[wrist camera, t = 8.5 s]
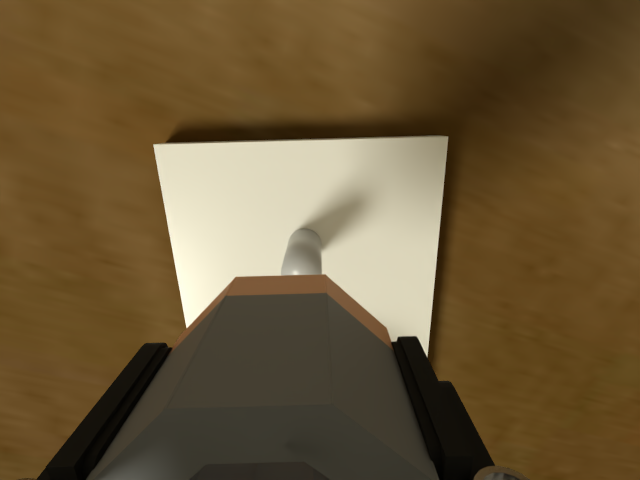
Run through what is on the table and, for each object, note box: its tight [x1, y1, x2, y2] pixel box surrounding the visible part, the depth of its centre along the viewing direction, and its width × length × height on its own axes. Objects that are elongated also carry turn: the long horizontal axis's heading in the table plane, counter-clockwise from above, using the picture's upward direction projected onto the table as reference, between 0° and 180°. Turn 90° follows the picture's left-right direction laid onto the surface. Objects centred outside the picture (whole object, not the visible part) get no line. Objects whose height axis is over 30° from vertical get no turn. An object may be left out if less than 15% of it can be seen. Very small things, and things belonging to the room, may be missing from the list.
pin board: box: [154, 135, 448, 356], centre depth 21 cm, size 16×24×6 cm, turn 2°
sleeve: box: [86, 274, 439, 480], centre depth 9 cm, size 6×6×5 cm
